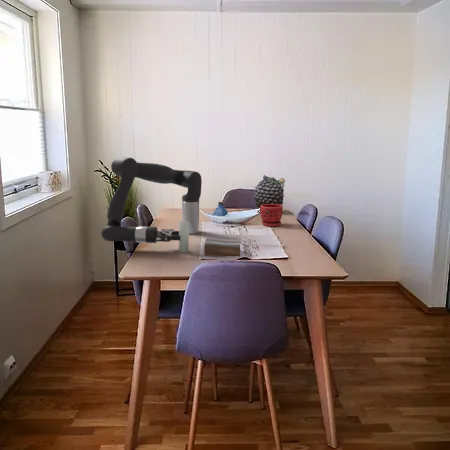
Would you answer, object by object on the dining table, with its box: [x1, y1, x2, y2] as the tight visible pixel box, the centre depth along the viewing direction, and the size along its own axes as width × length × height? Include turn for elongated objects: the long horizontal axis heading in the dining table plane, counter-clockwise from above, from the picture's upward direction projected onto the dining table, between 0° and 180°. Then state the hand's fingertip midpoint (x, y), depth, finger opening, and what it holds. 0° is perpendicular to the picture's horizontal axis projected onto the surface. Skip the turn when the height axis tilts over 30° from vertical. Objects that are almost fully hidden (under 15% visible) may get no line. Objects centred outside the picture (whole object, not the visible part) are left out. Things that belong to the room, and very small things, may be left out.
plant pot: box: [259, 204, 284, 227], centre depth 279 cm, size 13×13×12 cm
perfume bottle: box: [212, 201, 229, 224], centre depth 284 cm, size 6×6×12 cm
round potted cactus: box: [253, 174, 286, 213], centre depth 317 cm, size 21×15×25 cm
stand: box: [203, 237, 241, 257], centre depth 217 cm, size 12×16×6 cm
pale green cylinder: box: [178, 220, 190, 254], centre depth 217 cm, size 4×4×14 cm
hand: (181, 235), depth 217 cm, fingers open, 8 cm apart
